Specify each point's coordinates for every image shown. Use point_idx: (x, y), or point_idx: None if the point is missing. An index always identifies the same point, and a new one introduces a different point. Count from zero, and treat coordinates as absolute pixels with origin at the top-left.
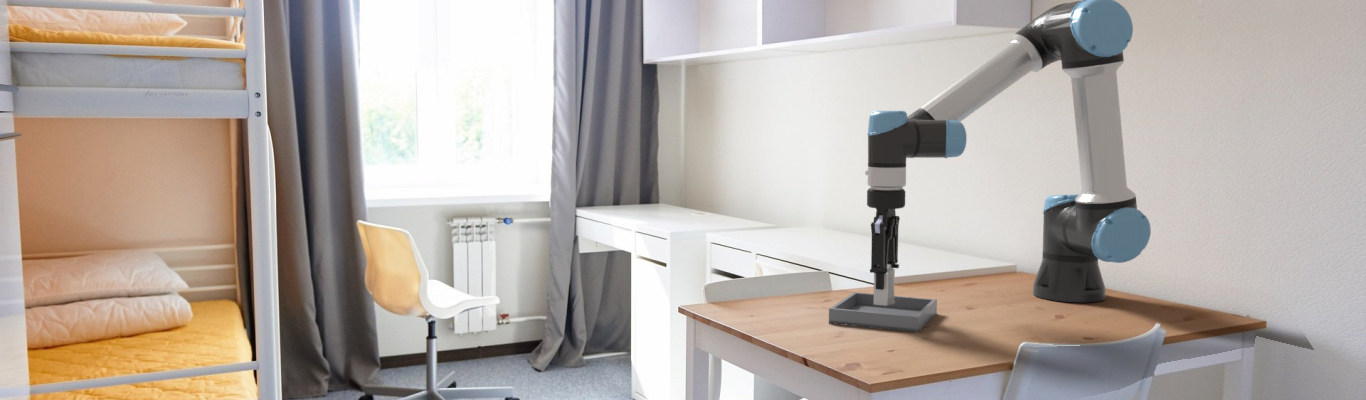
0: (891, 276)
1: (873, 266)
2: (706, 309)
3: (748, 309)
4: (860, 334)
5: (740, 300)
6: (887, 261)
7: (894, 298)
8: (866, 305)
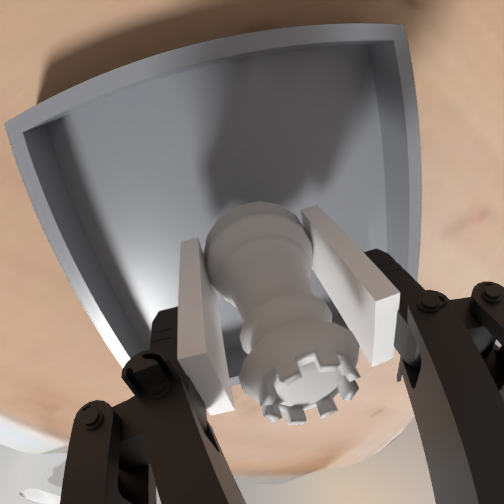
0: (268, 305)
1: (496, 345)
2: (361, 452)
3: (335, 439)
4: (457, 178)
5: (277, 472)
6: (439, 363)
7: (243, 216)
8: (147, 341)
